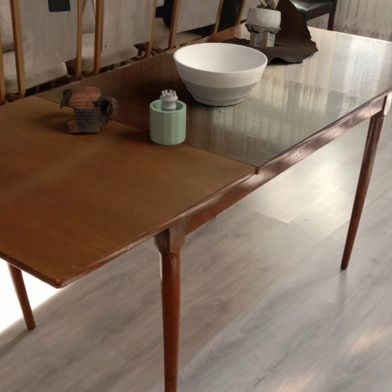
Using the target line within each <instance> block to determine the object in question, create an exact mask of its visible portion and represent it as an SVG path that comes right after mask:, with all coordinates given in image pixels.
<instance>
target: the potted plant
mask: <svg viewBox="0 0 392 392" xmlns="http://www.w3.org/2000/svg"><path fill="white" fill-rule="evenodd" d="M259 1H260V4H258V5H256V7H249V8H248V10H247V12H246V17H245V23H244V27H245V29H246V30H247V32H248V34H249V39H247V38H245V37H244V38H242V37H241V38H239V37H237V36H233V37H232V38H227V39H225V40H222V41H221V43H227V44H235V45H241V46H246V47H249V48H252V49H255V50H258V51H260V52H261V53H263V54H264V55H265V56H266V57H267V64H266V66H268V67H269V65H270V63H271V61H272V60H273V59H274V58H279V59H282V60H283V61H285V62H287V63H301V64H303V63H304V59H306V58H307V57H310V56H314V54H315V53H317V52H319V51H320V50H319V48H318V47H317V43H316V41H314V40H312V39H313V37H312V35H311V31H310V30H309V27H308V24H307V23H306V21H305V19H304V17H303V15H302V14H301V13H300V11H299V10H298V7H297V6H296V5H295V4H294V3H293V2H292V1H291V0H259Z"/></svg>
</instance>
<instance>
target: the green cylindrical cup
mask: <svg viewBox="0 0 392 392" xmlns="http://www.w3.org/2000/svg"><path fill="white" fill-rule="evenodd" d="M161 105H162V101H161V99H157V100H154V101H152V102H150V103H149V138H150V140H151V142H152V141H153V143H156V144H159V145H163V146H173V145H179V144H181V143H183V142H185V140H186V136H187V135H186V134H187V133H186V132H187V130H186V129H187V104H186V103H185V102H183V101H181V100H179V99H177V100H176V102H175V105H176V108H175V111H162V107H161Z"/></svg>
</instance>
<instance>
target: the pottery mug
mask: <svg viewBox="0 0 392 392" xmlns="http://www.w3.org/2000/svg"><path fill="white" fill-rule="evenodd" d="M61 93H62V98H61V100H60V105H59V109H60V110H61V109H63V107H67V108H69V107H70V108H71V109H72V110H73V114H74V117H75V119H72V120H69V121H68V122H67V126H68V130H69V134H79V133H86V134H89V133H90V134H91V133H96V134H97V133H100V131H101V124H102V126H103V127H106V126H108V124H109V122H110V121H112V120H114V118H116V116H117V114H118V112H119V110H120V109H119V108H120V107H119V104H118V101H117V100H116V98H115V97H113V96H110V95H105V96H103V95H102V89H100V88H99V87H96V86H77V87H70V88H67V89H64V90H62V92H61Z"/></svg>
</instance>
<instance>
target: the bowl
mask: <svg viewBox="0 0 392 392" xmlns="http://www.w3.org/2000/svg"><path fill="white" fill-rule="evenodd" d="M173 60H174V64H175V67H176V70H177V73H178V75H179V77H180V79H181V82H182V83H183V84H184V85H185V87H186V90H187V91H188V93H190V95H191V96H192V98H193V99H194V100H195V101H197V102H199V103H201V104H204V105H207V106H214V107H229V106H235V105H238V104H240V103H242V102H243V101H244V100H245V98H246V97H247V96H248V95H250V93H251V92H252V90H253V89H254V88H255V87H256V85H257V83H258V82H259V80H260V79H261V77H262V75H263V73H264V71H265V69H266V67H267V65H266V64H267V57H266V56H265V55H264V54H263V53H261V52H260V51H258V50H255V49H252V48H249V47H246V46H241V45H235V44H227V43H222V42H201V43H194V44H189V45H186V46H182V47H180V48H177V50H175V51H174V53H173Z"/></svg>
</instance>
